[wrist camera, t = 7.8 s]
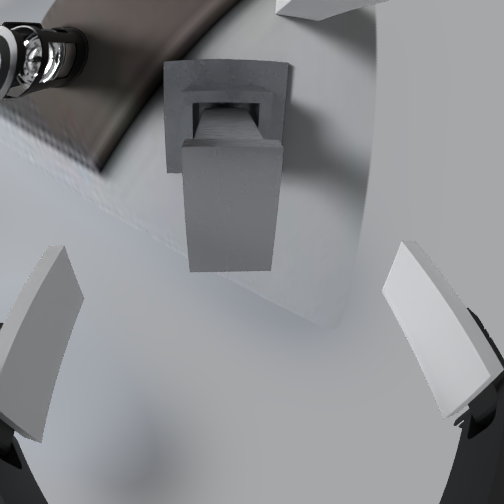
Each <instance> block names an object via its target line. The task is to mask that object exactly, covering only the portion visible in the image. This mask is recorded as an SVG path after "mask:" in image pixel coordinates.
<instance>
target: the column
mask: <svg viewBox="0 0 504 504" xmlns="http://www.w3.org/2000/svg"><path fill="white" fill-rule="evenodd" d="M181 148H182V173H183V191H184V207H185V222H186V234H187V246H188V257H189V268H190V272H231V271H271V265H272V256H273V247H274V239H275V230H276V221H277V211H278V202H279V192H280V183H281V173H282V163H283V153H284V147H283V146H282V144H281V143H280V142H279V140H268V139H263V138H262V136H261V134H260V132H259V130H258V128H257V127H256V125H255V123H254V121H253V119H252V118H251V116H250V114H249V112H248V111H247V109H246V108H205V109H204V111H203V114H202V117H201V120H200V122H199V125H198V128H197V131H196V134H195V137H194V139H185V140H184V143H183V145H182V147H181Z"/></svg>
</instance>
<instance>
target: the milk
mask: <svg viewBox="0 0 504 504" xmlns="http://www.w3.org/2000/svg"><path fill="white" fill-rule="evenodd" d="M385 1H389V0H276V10H275V14H279V15H286V16H293V17H299V18H304V19H310V20H315V21H320V20H323V19H326V18H329V17H332V16H335V15H338V14H341V13H344V12H347V11H351V10H354V9H358V8H361V7H365V6H368V5H372V4H376V3H380V2H385Z"/></svg>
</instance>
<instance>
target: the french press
mask: <svg viewBox="0 0 504 504" xmlns="http://www.w3.org/2000/svg"><path fill="white" fill-rule="evenodd" d="M65 43H75V45H76V57H75V61H74V64H73V67H72V68H71V70H70V72H69V73H68V75H67V76H65V77H63V78H58V79H55V78H56V77H57V75H58V74H59V72H60V70H61V68H62V66H63V63H64V60H65V53H66V48H65ZM87 58H88V42H87V40H86V37H85V36H84V34H83V33H82V32H81V31H79V30H78V29H76V28H71V27H63V28H52V29H43V28H42V26H41V24H40V23H27V22H4V23H3V24H2V25H1V26H0V102H1V101H2V100H14V99H17V98H20V97H23V96H25V95H27V94H29V93H32V92H35V91H39V90H42V89H49V88H58V87H62V86H65V85H67V84H69V83H71V82H72V81H73V80H75V79H76V78H77V77H78V75H79V74H80V73H81V72H82V70H83V68H84V66H85V64H86V61H87ZM19 85H21V86H22V87H24V88H26V89H27V90H26V91H25V92H24V93H23V94H21V95H20V96H18V97H11V96H8V95H6V94H7V93H8V91H9V89H10V88H12V87H15V86H19Z"/></svg>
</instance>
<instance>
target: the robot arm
mask: <svg viewBox="0 0 504 504" xmlns="http://www.w3.org/2000/svg"><path fill="white" fill-rule="evenodd" d="M382 292H383V294H384V296H385V298H386V299H387V301H388V303H389V305H390V307H391V309H392V311H393V313H394V314H395V316H396V318H397V320H398V322H399V324H400V326H401V328H402V330H403V332H404V334H405V336H406V338H407V339H408V341H409V344H410V346H411V348H412V350H413V352H414V354H415V356H416V358H417V360H418V362H419V364H420V366H421V368H422V371H423V373H424V375H425V377H426V379H427V382H428V384H429V386H430V388H431V391H432V393H433V395H434V398H435V400H436V402H437V405H438V407H439V409H440V412H441V414H442V417H443V419H445V418H447V417H450V416H452V415H454V414H456V413H458V412H459V411H461V410H462V409H463V408H464V407H465V406H466V405H468V406H469V408H470V409H468V410H467V411H466V412H465V413H464V414H462V415H461V416H460V417H459V418H458V419H457V420H456V421H455V423H454V426H456V425H458V424H459V423H460V422H461V421H463V420H464V422H463V423H461V424H460V426H459V427H460V428H462V432H461V436H460V441H459V445H458V449H457V452H456V456H455V459H454V463H453V466H452V470H451V472H450V476H449V479H448V482H447V485H446V488H445V490H444V493H443V496H442V498H441V501H440V503H439V504H504V359H503V357H502V355H501V354H500V352H499V350H498V348H497V347H496V345H495V344H494V342H493V340H492V339H491V338H490V337H489V334H488V332H487V331H486V329H484V326H483V324H482V323H481V321H480V320H479V318H478V317H477V316H476V315H475V314H474V313H473V312H472V311H471V310H470V309H469V308H466V307H465V305H464V304H463V303H462V301H461V299H460V298H459V297H458V295H457V294H456V292H455V291H454V290H453V288H452V287H451V286H450V284H449V283H448V281H447V280H446V279H445V277H444V276H443V275H442V273H441V272H440V271H439V270H438V268H437V267H436V266H435V265H434V263H433V262H432V261H431V259H430V258H429V257H428V256H427V254H426V253H425V252H424V251H423V249H422V248H421V247H420V246H419V244H418V243H417V242H416V241H401V244H400V247H399V249H398V252H397V255H396V257H395V260H394V262H393V265H392V268H391V270H390V272H389V275H388V277H387V280H386V282H385V284H384V287H383V289H382ZM83 300H84V297H83V294H82V292H81V290H80V287H79V285H78V282H77V279H76V277H75V274H74V271H73V269H72V266H71V263H70V260H69V258H68V255H67V252H66V249H65V246H49V247H48V248H47V250H46V251H45V253H44V254H43V256H42V257H41V259H40V261H39V262H38V264H37V265H36V267H35V268H34V270H33V272H32V273H31V275H30V276H29V278H28V280H27V282H26V283H25V285H24V287H23V288H22V290H21V292H20V294H19V296H18V297H17V299H16V301H15V303H14V304H13V307H12V308H11V310H10V312H9V314H8V316H7V318H6V320H5V322H4V323H0V504H48V503H47V501H46V499H45V498H44V496H43V494H42V492H41V490H40V488H39V486H38V485H37V483H36V481H35V479H34V477H33V474H32V473H31V471H30V468H29V466H28V464H27V462H26V460H25V457H24V455H23V453H22V450H21V448H20V445H19V443H18V441H17V439H16V438H15V437H14V436H13V435H14V431H17V432H18V433H19V434H20V435H22V436H23V437H25V438H28V439H31V440H34V441H37V442H40V443H41V442H42V437H43V432H44V427H45V422H46V418H47V413H48V409H49V405H50V401H51V397H52V393H53V390H54V386H55V382H56V379H57V375H58V372H59V369H60V365H61V362H62V359H63V356H64V353H65V350H66V347H67V343H68V341H69V338H70V335H71V332H72V329H73V326H74V324H75V321H76V318H77V316H78V313H79V310H80V308H81V305H82V303H83Z"/></svg>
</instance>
